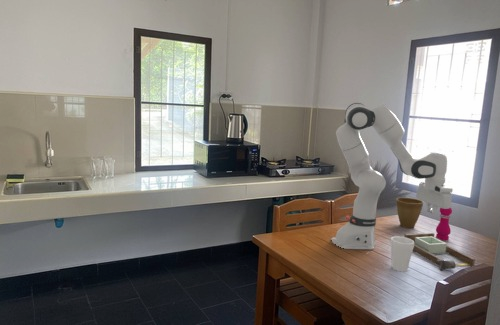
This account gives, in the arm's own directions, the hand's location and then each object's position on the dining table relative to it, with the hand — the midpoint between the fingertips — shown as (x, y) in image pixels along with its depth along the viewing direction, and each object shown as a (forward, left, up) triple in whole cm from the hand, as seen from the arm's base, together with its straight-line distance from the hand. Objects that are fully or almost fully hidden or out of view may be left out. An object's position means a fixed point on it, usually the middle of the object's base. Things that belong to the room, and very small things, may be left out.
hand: (431, 212), depth 186 cm
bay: (-3, -9, -19) cm, 21 cm away
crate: (0, -2, -19) cm, 19 cm away
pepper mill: (+21, +13, -19) cm, 31 cm away
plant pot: (+15, +35, -19) cm, 43 cm away
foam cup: (-29, -18, -19) cm, 39 cm away
